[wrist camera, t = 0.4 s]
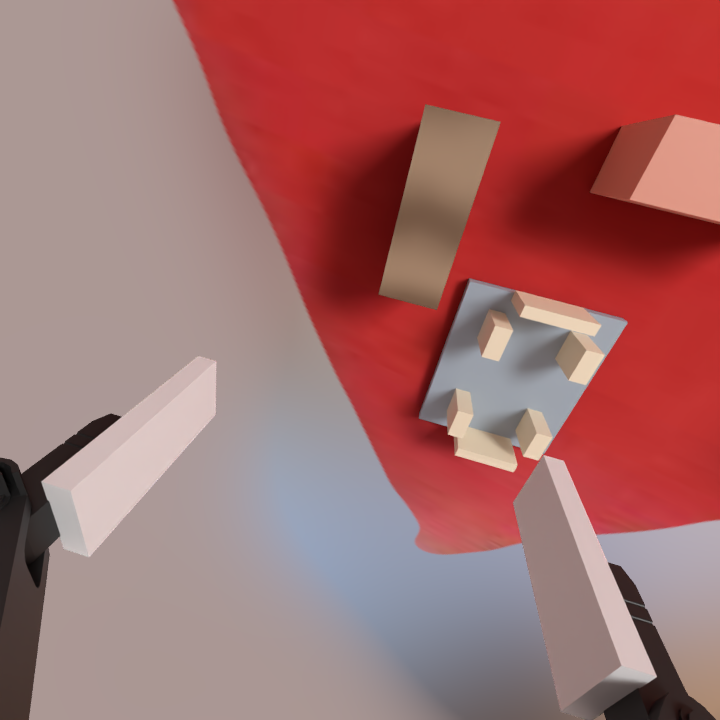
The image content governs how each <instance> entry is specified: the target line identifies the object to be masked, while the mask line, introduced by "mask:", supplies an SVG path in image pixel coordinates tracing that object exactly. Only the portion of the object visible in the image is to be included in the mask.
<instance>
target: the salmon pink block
mask: <svg viewBox="0 0 720 720" xmlns="http://www.w3.org/2000/svg"><path fill="white" fill-rule="evenodd" d="M589 193H593V194H597V195H601V196H605V197H609V198H614V199H618V200H622V201H626V202H630V203H634V204H638V205H642V206H646V207H650V208H654V209H658V210H663V211H667V212H671V213H675V214H679V215H683V216H687V217H691V218H695V219H699V220H703V221H707V222H712V223H716V224H720V125H719V124H714V123H710V122H706V121H701V120H697V119H692V118H688V117H684V116H679V115H672V116H667V117H662V118H658V119H653V120H648V121H643V122H639V123H634V124H629V125H625V126H622V127H621V129H620V131H619V133H618V135H617V137H616V139H615V141H614V143H613V145H612V147H611V149H610V151H609V153H608V155H607V157H606V160H605V162H604V164H603V166H602V168H601V170H600V172H599V174H598V176H597V178H596V180H595V182H594V184H593V186H592V188H591V190H590V192H589Z"/></svg>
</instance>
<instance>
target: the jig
mask: <svg viewBox="0 0 720 720" xmlns="http://www.w3.org/2000/svg"><path fill="white" fill-rule="evenodd" d="M627 323H628V322H627V321H625V320H624V319H623V318H620V317H616V316H612V315H608V314H605V313H601V312H597V311H593V310H589V309H585V308H582V307H578V306H574V305H571V304H567V303H563V302H559V301H555V300H551V299H548V298H544V297H540V296H536V295H532V294H528V293H525V292H521V291H517V290H512V289H509V288H505V287H501V286H497V285H493V284H489V283H486V282H482V281H478V280H474V279H470V278H469V280H468V283H467V286H466V288H465V291H464V294H463V296H462V299H461V302H460V304H459V307H458V310H457V313H456V315H455V318H454V321H453V323H452V326H451V329H450V331H449V334H448V337H447V340H446V342H445V345H444V348H443V350H442V353H441V356H440V358H439V361H438V364H437V366H436V369H435V372H434V375H433V377H432V380H431V383H430V385H429V388H428V391H427V393H426V396H425V399H424V402H423V404H422V407H421V410H420V412H419V419H423V420H426V421H430V422H433V423H437V424H440V425H444V426H447V430H448V435H451V436H454V449H455V455H456V456H459V457H463V458H466V459H470V460H473V461H477V462H480V463H484V464H487V465H490V466H494V467H497V468H501V469H504V470H508V471H511V472H514V470H515V469H516V467H517V461H516V457H515V454H514V450H513V446H512V445H514V446H517V447H520V448H521V451H522V454H523V456H524V457H528V458H531V459H535V460H539V459H540V457H541V456H542V454H544V453H545V452H546V450H547V448H548V447H549V445H550V444H551V442H552V441H553V439H554V437H555V436H556V434H557V433H558V431H559V430H560V428H561V426H562V425H563V423H564V422H565V420H566V419H567V417H568V415H569V414H570V412H571V411H572V409H573V408H574V406H575V405H576V403H577V401H578V400H579V398H580V397H581V395H582V394H583V392H584V390H585V389H586V387H587V386H588V384H589V383H590V381H591V379H592V378H593V376H594V375H595V373H596V372H597V370H598V368H599V367H600V365H601V364H602V362H603V361H604V359H605V357H606V356H607V354H608V353H609V351H610V350H611V348H612V346H613V345H614V343H615V342H616V340H617V339H618V337H619V335H620V334H621V332H622V331H623V329H624V328H625V326H626V324H627Z"/></svg>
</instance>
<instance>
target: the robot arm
mask: <svg viewBox="0 0 720 720" xmlns="http://www.w3.org/2000/svg"><path fill="white" fill-rule="evenodd" d="M215 414H216V361H214V360H211V359H207V358H204V357H200V356H198V357H196V358H195V359H194V360H193V361H191V362H190V363H189V364H188V365H186V366H185V367H184V368H183V369H181V370H180V371H179V372H178V373H176V374H175V375H174V376H173V377H171V378H170V379H169V380H168V381H166V382H165V383H164V384H163V385H161V386H160V387H159V388H158V389H157V390H155V391H154V392H153V393H151V394H150V395H149V396H148V397H146V398H145V399H144V400H143V401H141V402H140V403H139V404H138V405H137V406H135V407H134V408H133V409H131V410H130V411H129V412H128V413H126V414H125V415H124V416H123V417H120V416H117V415H114V414H108V415H106V416H104V417H102V418H99V419H97V420H94V421H92V422H91V423H89V424H88V425H87V426H85V427H84V428H83V429H81V430H80V431H78V433H77V434H76V435H73V436H72V437H70V438H69V439H68V440H66V441H65V443H64V444H62V445H60V446H58V447H57V448H56V449H54V450H53V451H52V452H50V453H49V454H48V455H46V456H45V457H44V458H42V459H41V460H40V461H38V462H37V463H36V464H34V465H33V466H31V467H30V468H29V469H27V470H26V471H25V472H23V473H22V474H21V472H20V470H19V467H18V465H17V464H16V463H15V462H14V461H12V460H10V459H5V458H0V720H29V713H30V706H31V705H30V704H31V698H32V690H33V682H34V673H35V666H36V658H37V650H38V642H39V634H40V626H41V619H42V610H43V603H44V595H45V587H46V579H47V571H48V562H49V555H50V554H49V548H48V547H49V546H50V545H51V544H52V543H53V542H54V541H55V540H56V539H57V538H58V537H60V539H61V542H62V545H63V548H64V549H65V550H69V551H72V552H75V553H78V554H81V555H84V556H87V557H90V556H91V555H92V553H93V552H94V551H95V550H96V549H97V548H98V547H99V546H100V544H101V543H102V542H103V541H104V540H105V539H106V538H107V536H108V535H109V534H110V533H111V532H112V531H113V530H114V529H115V527H116V526H117V525H118V524H119V523H120V522H121V521H122V519H123V518H124V517H125V516H126V515H127V514H128V513H129V512H130V511H131V509H132V508H133V507H134V506H135V505H136V504H137V503H138V502H139V500H140V499H141V498H142V497H143V496H144V495H145V493H146V492H147V491H148V490H149V489H150V488H151V487H152V486H153V484H154V483H155V482H156V481H157V480H158V479H159V478H160V476H162V474H163V473H164V472H165V471H166V470H167V469H168V467H170V465H171V464H172V463H173V462H174V461H175V459H177V457H178V456H179V455H180V454H181V453H182V452H183V451H184V449H185V448H186V447H187V446H188V445H189V444H190V443H191V442H192V441H193V439H194V438H195V437H196V436H197V435H198V434H199V433H200V432H201V430H202V429H203V428H204V427H205V426H206V425H207V424H208V422H209V421H210V420H211V419H212V418H213V417H214V416H215ZM513 504H514V509H515V513H516V518H517V522H518V526H519V531H520V535H521V539H522V544H523V548H524V552H525V556H526V561H527V566H528V570H529V574H530V579H531V583H532V587H533V592H534V596H535V601H536V605H537V609H538V613H539V618H540V622H541V627H542V631H543V636H544V640H545V645H546V649H547V653H548V658H549V662H550V667H551V671H552V675H553V680H554V684H555V688H556V693H557V697H558V702H559V706H560V710H561V712H564V713H566V714H570V715H573V716H576V717H579V718H582V719H585V720H593V719H595V718H596V717H598V716H599V715H601V714H602V713H604V715H605V718H606V720H716V719H715V718H714V717H713V716H712V715H711V714H710V713H709V712H708V711H707V710H706V709H705V707H703V706H702V705H701V704H700V703H698V702H697V701H696V700H694V699H693V698H692V697H690V696H688V694H687V692H686V690H685V688H684V687H683V684H682V682H681V680H680V678H679V676H678V674H677V672H676V669H675V668H674V665H673V663H672V662H671V659H670V657H669V655H668V653H667V651H666V649H665V646H664V644H663V642H662V640H661V638H660V636H659V634H658V632H657V629H656V627H655V626H653V624H652V619H651V617H650V615H649V613H648V611H647V609H645V604H644V602H643V600H642V598H641V596H640V594H639V592H638V590H637V588H636V585H635V584H634V583H633V581H632V580H631V579H630V578H629V576H628V575H627V574H626V573H625V571H624V570H623V569H622V567H621V566H618V565H615V564H611V563H608V562H607V560H606V558H605V555H604V553H603V551H602V548H601V546H600V544H599V541H598V539H597V537H596V534H595V532H594V530H593V527H592V525H591V523H590V521H589V518H588V516H587V514H586V511H585V509H584V507H583V504H582V502H581V500H580V497H579V495H578V493H577V490H576V488H575V486H574V483H573V481H572V479H571V477H570V474H569V472H568V470H567V467H566V465H565V463H564V461H562V460H559V459H555V458H552V457H548V456H545V455H543V457H542V458H541V460H540V461H539V463H538V465H537V466H536V468H535V469H534V471H533V472H532V474H531V476H530V477H529V479H528V480H527V482H526V483H525V485H524V486H523V488H522V490H521V491H520V493H519V494H518V496H517V497H516V499H515V500H514V502H513Z"/></svg>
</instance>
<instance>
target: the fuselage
mask: <svg viewBox="0 0 720 720" xmlns="http://www.w3.org/2000/svg"><path fill="white" fill-rule="evenodd" d="M499 125H500V122H499V121H494V120H490V119H486V118H481V117H477V116H473V115H469V114H464V113H460V112H456V111H451V110H447V109H443V108H439V107H434V106H430V105H426V104H425V108H424V113H423V117H422V121H421V125H420V129H419V133H418V137H417V141H416V145H415V149H414V153H413V157H412V161H411V165H410V169H409V173H408V177H407V181H406V185H405V189H404V193H403V198H402V202H401V206H400V210H399V214H398V218H397V222H396V226H395V230H394V234H393V238H392V242H391V246H390V250H389V254H388V258H387V262H386V266H385V270H384V274H383V278H382V282H381V287H380V291H379V295H382V296H386V297H390V298H394V299H397V300H401V301H405V302H409V303H412V304H416V305H420V306H424V307H427V308H431V309H435V310H437V308H438V305H439V302H440V299H441V296H442V293H443V290H444V287H445V284H446V281H447V278H448V275H449V272H450V269H451V267H452V264H453V261H454V258H455V255H456V252H457V249H458V246H459V243H460V240H461V237H462V234H463V231H464V228H465V225H466V222H467V219H468V217H469V214H470V211H471V208H472V205H473V202H474V199H475V196H476V193H477V190H478V187H479V184H480V181H481V178H482V175H483V172H484V169H485V166H486V164H487V161H488V158H489V155H490V152H491V149H492V146H493V143H494V140H495V137H496V134H497V131H498V128H499Z"/></svg>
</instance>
